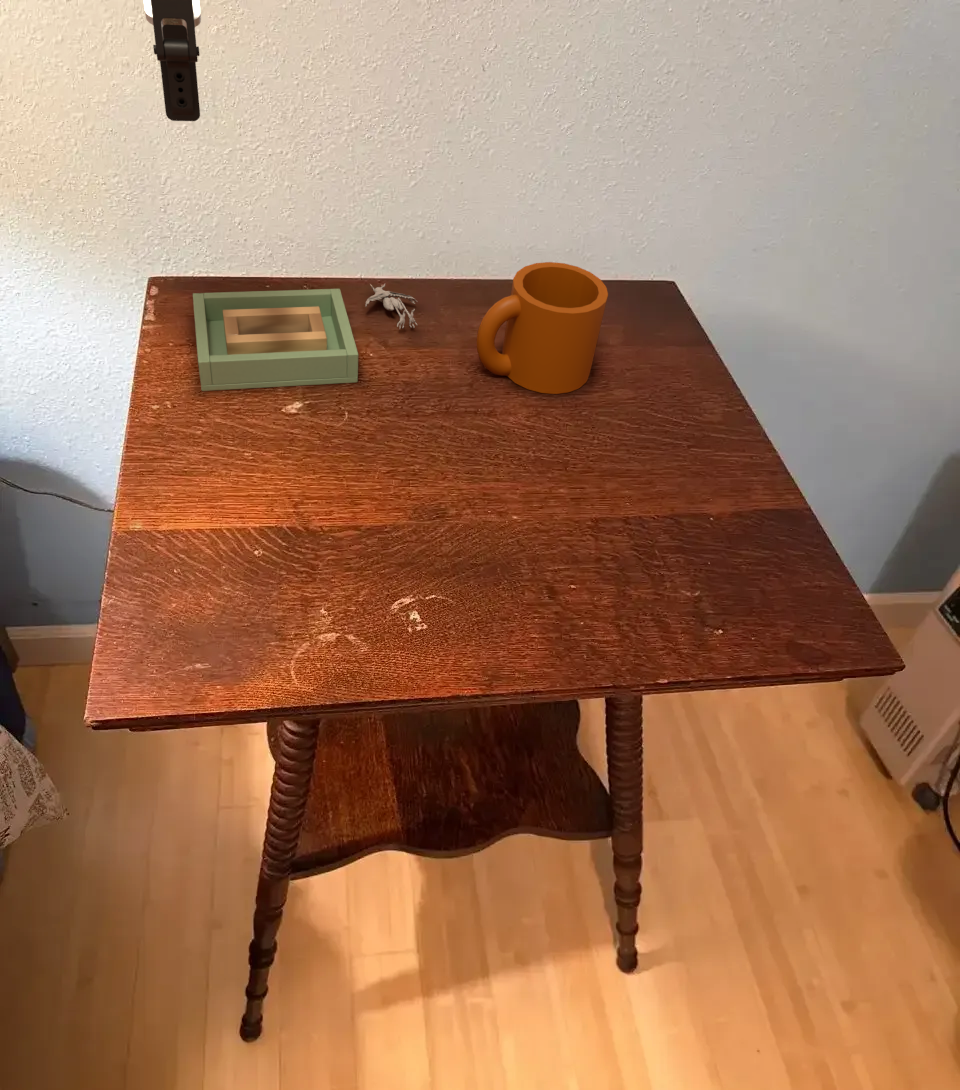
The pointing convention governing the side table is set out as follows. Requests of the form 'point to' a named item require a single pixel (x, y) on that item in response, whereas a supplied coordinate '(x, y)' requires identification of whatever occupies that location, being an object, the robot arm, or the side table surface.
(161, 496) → the side table surface
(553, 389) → the mug
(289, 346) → the frame
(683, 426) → the side table surface
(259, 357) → the holder
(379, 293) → the figurine
